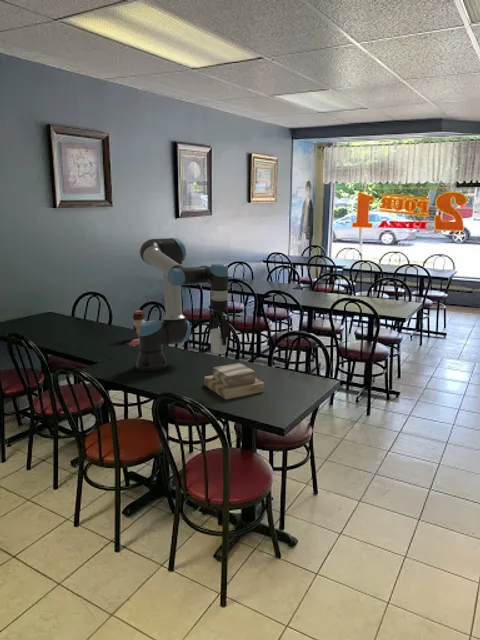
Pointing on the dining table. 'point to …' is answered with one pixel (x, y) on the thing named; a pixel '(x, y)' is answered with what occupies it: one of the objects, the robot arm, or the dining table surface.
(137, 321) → the ice cream
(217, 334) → the white cup
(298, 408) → the dining table surface
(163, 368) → the robot arm
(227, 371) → the oak riser
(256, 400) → the dining table surface
